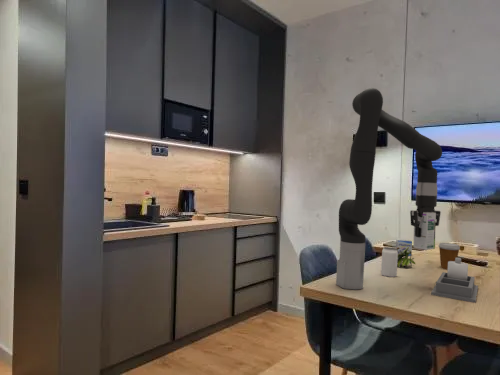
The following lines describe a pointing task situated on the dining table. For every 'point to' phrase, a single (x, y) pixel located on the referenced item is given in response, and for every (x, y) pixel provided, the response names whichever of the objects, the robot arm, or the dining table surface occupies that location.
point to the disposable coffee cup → (448, 253)
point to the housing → (456, 283)
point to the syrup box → (426, 232)
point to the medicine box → (404, 245)
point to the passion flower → (405, 258)
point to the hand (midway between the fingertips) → (424, 236)
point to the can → (389, 262)
